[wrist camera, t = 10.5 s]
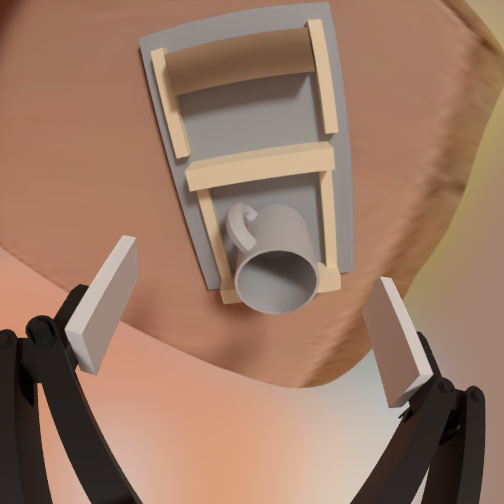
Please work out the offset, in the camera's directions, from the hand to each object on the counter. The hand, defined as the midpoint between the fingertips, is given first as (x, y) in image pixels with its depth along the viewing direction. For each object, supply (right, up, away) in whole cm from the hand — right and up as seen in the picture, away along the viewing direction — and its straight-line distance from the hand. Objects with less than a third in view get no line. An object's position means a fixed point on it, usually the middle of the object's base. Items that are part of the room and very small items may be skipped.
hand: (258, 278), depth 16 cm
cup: (+1, +4, +17) cm, 18 cm away
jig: (+1, +11, +14) cm, 18 cm away
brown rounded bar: (-1, +19, +8) cm, 20 cm away
